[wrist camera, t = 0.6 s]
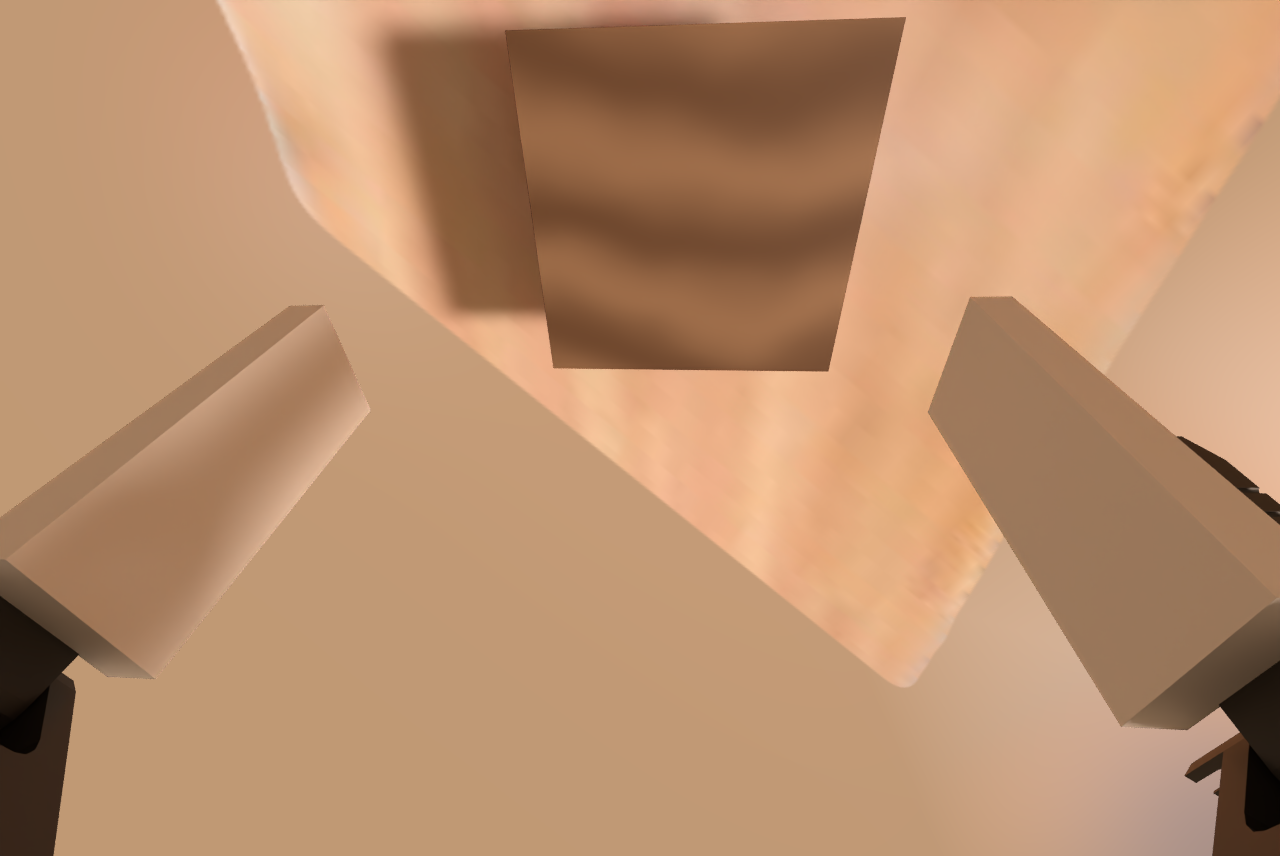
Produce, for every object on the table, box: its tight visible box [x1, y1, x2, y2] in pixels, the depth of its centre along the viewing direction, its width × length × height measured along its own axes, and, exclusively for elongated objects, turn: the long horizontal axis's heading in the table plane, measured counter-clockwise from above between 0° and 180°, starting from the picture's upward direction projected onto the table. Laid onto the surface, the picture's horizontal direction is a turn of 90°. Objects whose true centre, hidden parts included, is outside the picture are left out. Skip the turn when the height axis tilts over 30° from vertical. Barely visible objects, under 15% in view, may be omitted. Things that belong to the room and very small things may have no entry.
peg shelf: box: [505, 17, 906, 371], centre depth 29 cm, size 16×16×8 cm
